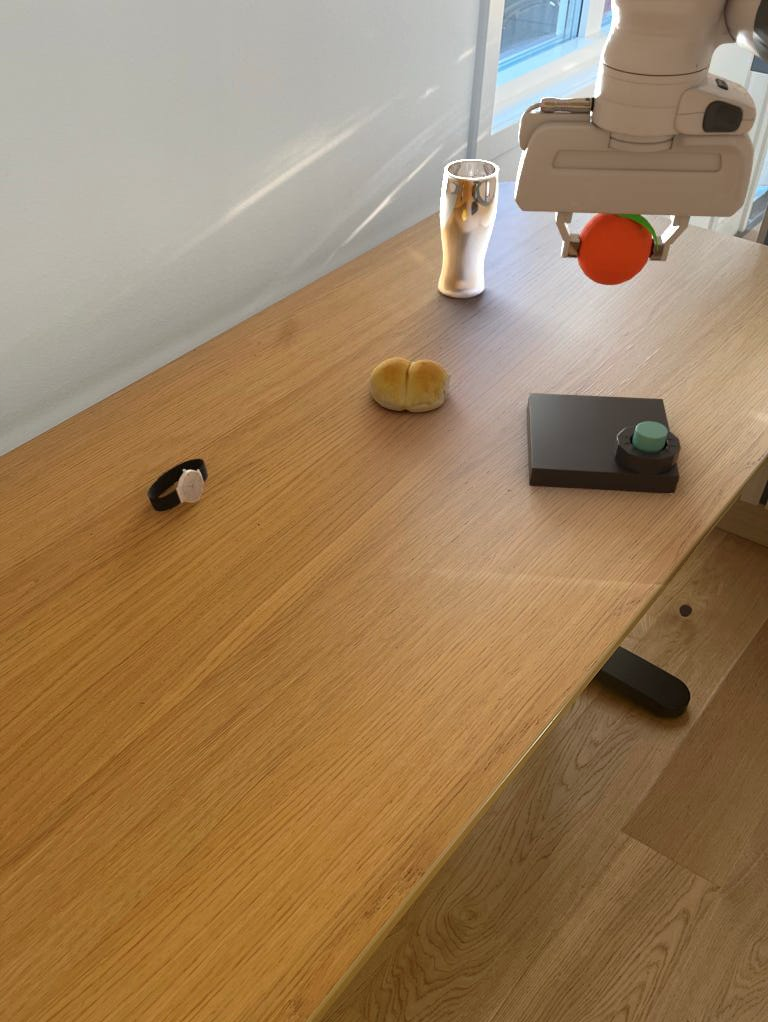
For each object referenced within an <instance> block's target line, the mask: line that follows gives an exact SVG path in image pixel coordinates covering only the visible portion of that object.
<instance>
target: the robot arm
mask: <svg viewBox="0 0 768 1022" xmlns="http://www.w3.org/2000/svg"><path fill="white" fill-rule="evenodd" d="M611 11H612V12H611V14H612V18H611V26H610V31H609V33H608V37H607V39H606V42H605V44H604V46H603V49H602V51H601V54H600V60H599V67H598V70H597V71H598V72H597V77H596V78H597V79H596V81H595V89H594V95H593V96H592V97H572V98H571V97H568V98H557V97H553V96H550V97H549V96H547V97H543V98H540V102H536V103H533V104H531V105H530V106H529V107H527V108H526V109H525V111H523V114H522V115H521V118H520V122H519V129H518V137H517V138H518V139H517V140H518V145H519V147H520V149H521V150H522V153H521V157H520V160H519V165H518V169H517V173H516V179H515V185H514V194H513V195H514V202H515V204H516V205H517V206H518V208H519V210H520V211H522V212H531V213H532V212H534V213H536V212H537V213H554V216H555V224H556V227H557V229H558V232H559V234H560V236H561V239H562V241H561V249H560V258H561V259H577V255H578V249H579V245H580V239H579V237H580V233H572V232H571V231H570V228H569V225H568V224H571V223H572V219H573V214H598V213H602V214H636V215H641V216H669V218H670V221H671V222H670V225H669V226H668V227H667V228H666V229H665V231H664V232H663V233H662V234H661V235H660V236H657V235H656V236H657V241H658V250H657V246H656V242H655V239H654V237H653V236H652V240H653V242H652V251H651V253H650V256H649V258H648V261H649V262H666V261H667V259H668V255H669V251H670V248H671V245H673V244H674V243H675V242H676V240H677V239H679V238H680V236H681V235H682V234H683V233H684V232H685V231H686V230H687V229H688V227H689V224H690V219H691V217H710V218H711V217H713V218H731V217H733V216H734V215H735V214H736V213H737V212H739V210H741V209H742V208H743V207H744V205H745V201H746V199H747V195H748V190H749V187H750V182H751V177H752V172H753V166H754V165H753V164H754V158H755V157H754V156H755V150H754V149H755V148H754V144H753V142H752V139H751V136H750V134H749V133H750V131H751V130H752V128H753V127H754V124H755V122H756V118H757V106H756V103H755V101H754V99H753V97H752V95H751V93H750V92H749V91H748V90H747V89H746V88H745V87H744V86H743V85H742V84H741V83H738V82H736V81H732V80H729V79H727V78H725V77H722V76H719V75H716V74H714V73H711V72H709V71H710V67H711V64H712V63H711V62H712V58H713V55H714V53H715V51H716V49H718V48H719V47H720V46H721V45H726V44H737V45H738V46H739V47H740V48H742V49H744V50H746V51H747V52H749V53H751V54H752V55H754V56H756V57H757V58H759V59H761V60H762V62H763V63H764V64H766V65H767V66H768V0H611ZM536 109H539V110H536Z"/></svg>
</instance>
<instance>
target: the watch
mask: <svg viewBox="0 0 768 1022" xmlns="http://www.w3.org/2000/svg"><path fill="white" fill-rule="evenodd" d="M208 477H209V474H208V469H207V466H206V462H205V460H204V459H202V458H192V459H189V460H186V461H183V462H181V463H179V464H177V465H175V466H173V467H172V468H170V469H168V470H167V471H165V472H163V474H161V475H159V476H158V478H157V479H156V480H155V481H154V482H153V483H152V484H151V485H150V487H149V488H148V490H147V496H148V500H149V502H150V504H151V507H152V509H153V510H154V511H155V512H166V511H167V512H168V511H169V510H172V509H174V508H175V507H177V506H179V505H180V504H181V505H182V504H183V503H188V504H192V503H196V502H197V501H198V500H199V499H200V498H201V496H202V495H203V492H204V491H203V490H204V485H205V482H206V481H207V480H208ZM176 483H177V487H176V488H175V489H174V490H173V491H171V492H169V493H167V494H166V495H163V494H164V493H165V492H166V491H167V490H169V489H170V488H172V487H173V486H174V485H175V484H176ZM162 495H163V496H162Z"/></svg>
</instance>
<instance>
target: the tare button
mask: <svg viewBox="0 0 768 1022" xmlns="http://www.w3.org/2000/svg"><path fill="white" fill-rule="evenodd" d="M667 434H668V430H667V428H666V427H665V426H664V425H662V424H660V423H657V422H651V421H646V422H642V423H639V424H638V425H637V426H636V429H635V433H634V436H633V440H632V444H633V446H634V447H635V448H636V449H639V450H642V451H645V452H659V451H661V450H662V449H663V448H664V445H665V441H666V438H667Z"/></svg>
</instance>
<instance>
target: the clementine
mask: <svg viewBox="0 0 768 1022" xmlns="http://www.w3.org/2000/svg"><path fill="white" fill-rule="evenodd" d="M579 236H580V237H579V239H580V245H579V249H578V255H577V258H576V259H577V263H578V266H579V268H580V269H581V271H582V273H583V275H585V276H586V277H587V278H588V279H590V280H591V281H592V282H594V283H596V284H599V285H602V286H617V285H620V284H623V283H625V282H628V281H630V280H632V279H633V278H634V277H636V276H637V275H638V274H640V273H641V271H642V270H643V269H644V268H645V266H646V264H647V263H648V261H649V256H650V253H651V251H652V242H653V240H652V237H654V239H655V242H656V246H657V250H658V241H657V234H656V231H655V229H654V227H653V226H652V224H651V223H650V222H649V220H648V219H647V218H646V217H644V215H636V214H602V213H595V215H594V216H593V217H591V218H590V219H589V220H588V221H587V222H586V223H585V225H584V227H583V228H582V230H581V232H580V233H579Z"/></svg>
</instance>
